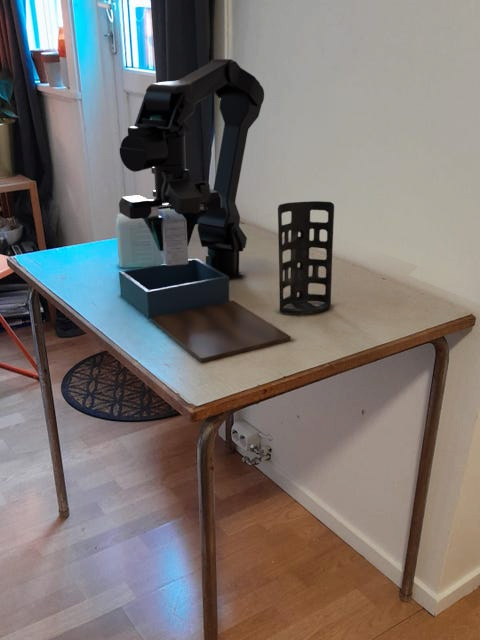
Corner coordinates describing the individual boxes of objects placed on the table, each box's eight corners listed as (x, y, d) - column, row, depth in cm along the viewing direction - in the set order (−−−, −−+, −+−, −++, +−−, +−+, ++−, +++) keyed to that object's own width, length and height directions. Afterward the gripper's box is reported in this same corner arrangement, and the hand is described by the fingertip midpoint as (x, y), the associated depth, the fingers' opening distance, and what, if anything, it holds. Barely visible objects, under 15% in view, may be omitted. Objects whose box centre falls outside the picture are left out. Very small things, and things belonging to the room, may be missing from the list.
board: (233, 304, 130) (233, 300, 130) (290, 340, 116) (290, 336, 116) (150, 321, 122) (150, 317, 122) (201, 363, 108) (201, 358, 108)
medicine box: (188, 265, 125) (187, 218, 120) (165, 266, 124) (163, 220, 119) (180, 252, 131) (179, 208, 127) (158, 254, 130) (156, 209, 126)
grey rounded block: (162, 261, 153) (160, 206, 146) (165, 266, 149) (162, 211, 143) (118, 263, 151) (113, 208, 144) (119, 269, 147) (114, 213, 141)
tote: (197, 282, 141) (196, 257, 138) (229, 302, 131) (229, 276, 128) (120, 296, 133) (118, 271, 130) (148, 319, 123) (146, 292, 121)
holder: (289, 318, 124) (290, 208, 115) (269, 308, 130) (269, 203, 121) (337, 309, 128) (342, 202, 119) (316, 300, 134) (319, 198, 125)
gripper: (139, 175, 108) (145, 268, 116) (237, 165, 116) (236, 252, 125) (114, 164, 116) (121, 251, 124) (207, 156, 124) (208, 238, 133)
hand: (173, 248), depth 126 cm, fingers closed on medicine box, 5 cm apart
